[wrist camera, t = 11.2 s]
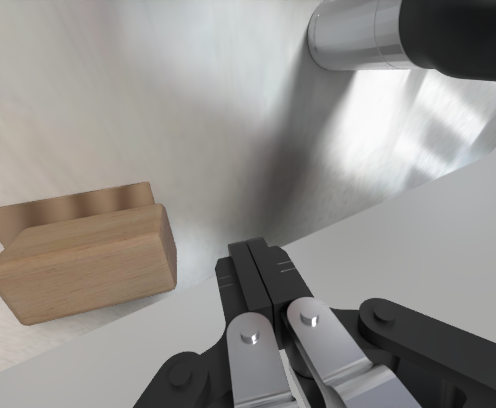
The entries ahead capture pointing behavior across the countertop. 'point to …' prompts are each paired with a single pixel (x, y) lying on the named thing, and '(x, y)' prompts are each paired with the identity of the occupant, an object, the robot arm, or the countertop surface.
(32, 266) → the block
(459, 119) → the countertop surface
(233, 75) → the countertop surface
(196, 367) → the robot arm
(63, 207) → the cutting board
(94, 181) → the countertop surface
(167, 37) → the countertop surface
